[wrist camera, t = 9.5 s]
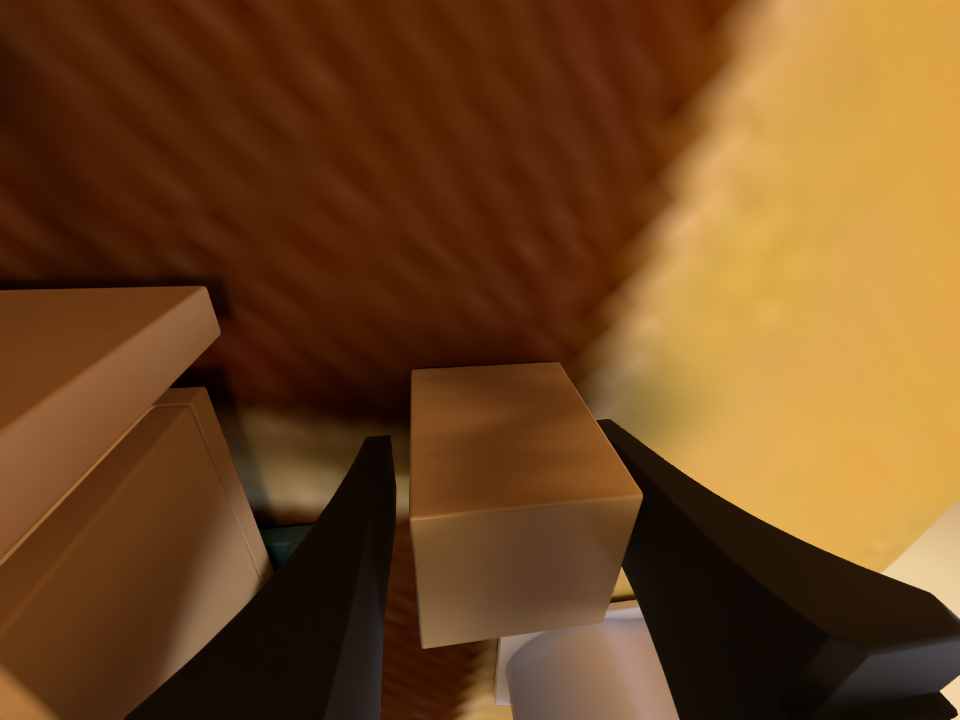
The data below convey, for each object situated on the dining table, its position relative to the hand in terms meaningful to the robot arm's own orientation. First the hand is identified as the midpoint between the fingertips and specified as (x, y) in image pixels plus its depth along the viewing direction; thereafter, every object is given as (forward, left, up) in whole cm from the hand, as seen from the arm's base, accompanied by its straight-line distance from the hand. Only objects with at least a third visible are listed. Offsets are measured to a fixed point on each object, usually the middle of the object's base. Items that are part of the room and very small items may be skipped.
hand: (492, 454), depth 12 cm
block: (0, 0, -1) cm, 1 cm away
